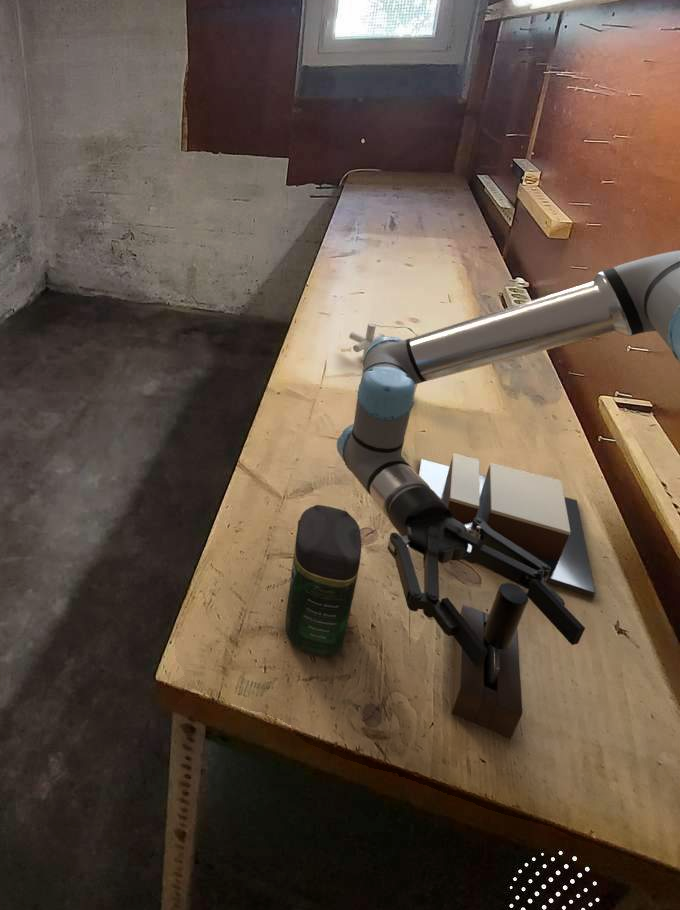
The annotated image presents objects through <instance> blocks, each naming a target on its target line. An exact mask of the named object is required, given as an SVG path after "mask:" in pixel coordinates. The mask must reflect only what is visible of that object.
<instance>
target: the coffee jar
mask: <svg viewBox="0 0 680 910" xmlns="http://www.w3.org/2000/svg"><path fill="white" fill-rule="evenodd" d="M360 529H361V528H360V526H359V523H358V522H357V521H356V519H355V518H354V517H353V516H352V515H351V514H349V512H348V511H347V510H344V509H341V508H338V507H337V508H336V507H332V506H328V505H323V504H315V505H313V506H310V507H308V508H307V509H305V510H304V511H303V512H302V513H301V515H300V518H299V520H298V521H297V530H296V536H295V544H294V552H293V559H292V566H291V575H290V582H289V590H288V595H287V604H286V612H285V633H286V637H287V639H288V640H289V641H290V643H291V644H292V645H293V646H294V647H295V648H297V649H299V650H300V651H303V652H305V653H307V654H311V655H314V656H319V657H324V658H325V657H326V658H329V657H334V656H336V655H338V654H339V653H340V652H341V651H342V649H343V646H344V642H345V638H346V633H347V629H348V622H349V619H350V618H349V617H350V613H351V608H352V604H353V600H354V596H355V591H356V585H357V580H358V576H359V571H360V565H361V555H362V535H361V530H360Z"/></svg>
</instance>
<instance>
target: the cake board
mask: <svg viewBox="0 0 680 910" xmlns="http://www.w3.org/2000/svg"><path fill="white" fill-rule="evenodd" d="M449 467H450V465H446V464H442V463H438V462H434V461H430V460H427V459H422V458H421V459H420V462H419V470H418V475H419V476H420V477H421V478H422V479H423V480H424V481H425V482H426V483H427V484H428V485H429V486H430V489H432V490H433V491H434V492H435V493H436V494H437V495H438V496H439V497H440V499H441V500H442V501H443V502H444V503H445V490H446V479H447V475H448V471H449ZM485 479H486V475H484V474H480V473H479V509H478V512H477V515H476V517H478V518H481V519H482V488H483V485H484V482H485ZM564 498H565V504H566V509H567V515H568V520H569V526H570V532H571V533H570V535H569V538H568V540H567V542H566V545H565V547H564V549H563V552H562V554H561V557H560V559H559V561H556V560H553V559H550V558H547V557H543V556H540V555H537V554H534V553H530V552H528V553H530V554H531V555H533V556H534V557H536V558H538V559H539V560H541V561H542V562H544V563H545V564H547V565H548V566H550V568H551V571H550V574H549V576H548V579H547V581H546V583H547V584H551V585H554V586H557V587H560V588H563V589H566V590H569V591H572V592H574V593H578V594H582V595H585V596H588V597H591V598H594V597H595V595H596V593H597V592H596V588H595V583H594V578H593V573H592V568H591V563H590V558H589V554H588V549H587V544H586V538H585V533H584V529H583V524H582V519H581V513H580V509H579V504H578V500H577V499H575V498H571V497H566V496H564ZM471 549H472V546H471V545H470V544H468V549H467V551H468V552H471Z"/></svg>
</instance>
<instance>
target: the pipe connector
mask: <svg viewBox="0 0 680 910" xmlns="http://www.w3.org/2000/svg"><path fill="white" fill-rule="evenodd" d="M376 327H377V325H376V323H374V322H368V323H367V327H366V333H365V336H363V335H361V334H358V333H357V332H354V331H351V332H350V334H349V336H348V337H349V339H350V340H351V341H355V342H357V344H355V345H353V346H352V350H353V351H354V352H355V353H359V352H361V351H363V352H362V359H361V361H362V362H363V360H364V357H365V355H366V352H367V350H368V347H369V346H370V345H371V343H372V342H373V341H375V340H376V339H379V338H381V337H386V336H385V334H383V333H381V332H380V333H378V334H376V335H375V333H376Z"/></svg>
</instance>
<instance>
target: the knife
mask: <svg viewBox="0 0 680 910" xmlns="http://www.w3.org/2000/svg"><path fill="white" fill-rule="evenodd" d="M528 602H529V598H528V596H527V592H526V591H525V590H524V589H523V587H522V586H520V585H518V584H516V583H512V582H503V583H501V584H500V585H499V587H498V590H497V592H496V594H495V597H494V600H493V603H492V605H491V609H490V612H489V613H488V614H489V617H488V619H487V622H486V625H485V628H484V631H483V636H484V646H485V647H486V648H487V650H488V651H487V654H486V657H485V659H484V686H485V687H488V688H490V689H492V687H493V684H494V682H495V679H496V677H497V674H498V672H499V649H501V650H504V649H507V648H509V647H510V644H511V642H512V639H513V637H514V634H515V632H516V629H517V630H518V626H519V624H520V621H521V620H522V617H523V614H524V611H525V609H526V607H527V604H528Z"/></svg>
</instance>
